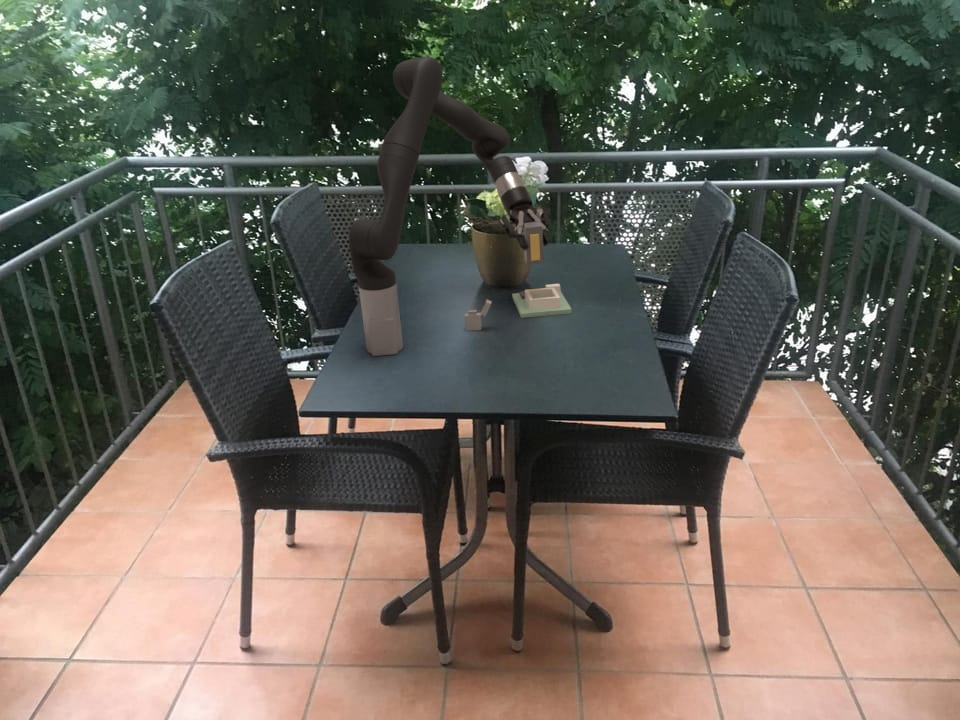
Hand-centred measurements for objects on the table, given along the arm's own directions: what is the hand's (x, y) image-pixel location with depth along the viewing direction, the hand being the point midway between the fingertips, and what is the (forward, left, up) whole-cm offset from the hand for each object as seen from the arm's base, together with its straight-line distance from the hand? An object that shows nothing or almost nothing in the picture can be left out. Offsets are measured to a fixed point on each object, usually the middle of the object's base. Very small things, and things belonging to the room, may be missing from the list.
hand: (536, 246), depth 205 cm
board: (+5, -2, -19) cm, 20 cm away
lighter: (-8, +17, -19) cm, 27 cm away
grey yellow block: (+2, +1, -5) cm, 5 cm away
